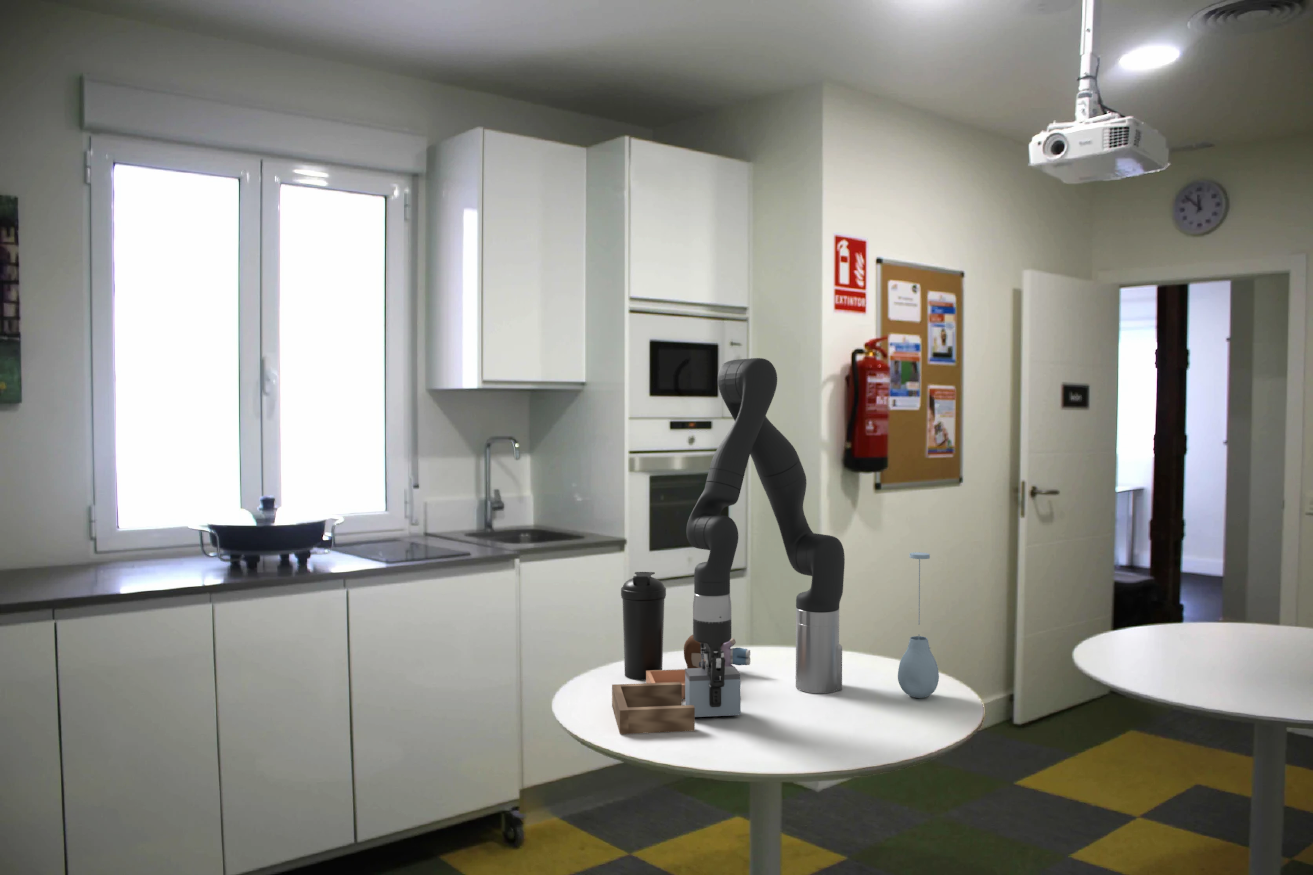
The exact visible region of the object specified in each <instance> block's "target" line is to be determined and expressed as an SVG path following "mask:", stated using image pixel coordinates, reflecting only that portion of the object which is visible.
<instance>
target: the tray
mask: <svg viewBox="0 0 1313 875" xmlns="http://www.w3.org/2000/svg"><path fill="white" fill-rule="evenodd" d="M685 669H686V668H683V669H682V668H681V669H679V668H678V669H662V670H647V671H646V680H645V683H671V682H681V684H682V700H685Z"/></svg>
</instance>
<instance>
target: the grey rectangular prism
mask: <svg viewBox="0 0 1313 875" xmlns="http://www.w3.org/2000/svg"><path fill="white" fill-rule="evenodd" d="M684 669H685V699H684V700H685V701H684V705H694V707H695V718H702V717H703V718H704V717H721V716H723V717H727V716H741V673H740V671H739V670H738V669H737V668H736V667H735V666H734V667H725V674H724V683H725V685H724V687H722V688H721V706H720V707H711V706H710V704H709V685H708V684H709V676H708V675H706V672H705V669H702V668H687V667H686V668H684ZM710 671H711V670H710ZM714 681H719V676H715V677H714Z"/></svg>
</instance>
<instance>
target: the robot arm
mask: <svg viewBox="0 0 1313 875" xmlns="http://www.w3.org/2000/svg"><path fill="white" fill-rule="evenodd" d="M717 386H718V391H719V393H720V396H721V397H722V400H723V402H724V403H725V406H726V408H727V409H728V411H729V413H730V415H731V417H732V419H733V421H734V423H733V425H732V426H731V428H730V430H729V431H728V433H727V434H726V436H725V437H724V438H723V440H722V441H721V443H720V444H719V446H717V448H716V449H715V452H714V454H713V457H712V459H711V461H710V465H709V469H708V473H707V477H706V481H705V484H704V489H703V491H702V493H701V495H699V497H698V499H697V502H696V504H695V506H694V507H693V509H692V511H691V513H690V515H689V517H688V520H687V523H686V530H685V532H686V538H687V541H688V543H689V544H690V545H691V547H693V548H694V549H695V548H696V549H699V550H706V551H709V555H708V558H707V561H703V562H699V563H698V564H697V565H696V566H695V568H694V572H693V574H694V575H693V576H694V578H693V579H694V580H693V582H694V583H693V585H694V586H693V587H694V590H693V592H694V593H693V600H692V601H693V602H692V635H693V639H694V640H695V641H697V642H699V643H701V644H700V647H701V668H702V669H705V672H706V675H708V676H709V684H708V685H709V704H710V706H711V707H720V706H721V688H722V687H724V685H725V683H724V674H725V658H724V651H721V644H722V643H726V642H729V641H730V640H731V639H732V600H731V570H732V567H733V563H734V559H735V555H736V551H737V547H738V544H739V530H738V526H737V524H736V522H735V521H734V520H733V519H732V518H731V517H730V516H726V515H721V513H722V511H723V510H724V509H725V508H726V507H731V506H733V505H736V504H737V502H738V501H739V497H740V495H741V490H742V485H743V482H744V479H745V475H746V469H747V466H748V462H749V460H750V457H751V460H752V461H753V464H754V467H755V470H756V472H757V476H758V478H759V480H760V483H761V485H762V488H763V489H764V491H765V492H764V493H765V494H766V496H767V499H768V501H769V504H770V507H771V510H772V513H773V516H774V517H775V519H776V522H777V525H778V528H779V532H780V534H781V539H782V543H783V546H784V548H785V553H786V556H787V559H788V561H789V564H790V566H791V567H792V568H793V570H794V571H795V572H796V573H798V574H801V575H804V576H810V577H811V583H810V584H811V585H810V588H809V589H808V590H807V591H802V592H800V593H798V594H797V595H796V599H795V687H796V688H797V690H800V691H802V692H806V693H812V694H828V693H833V692H836V691H837V692H839V691H843V646H842V645H841V644H840V602H841V600H842V597H843V592H844V579H845V578H844V577H845V551H844V550H845V549H844V546H843V544H842V542H841V541H840V539H839V538H837V537H836V536H833V535H829V534H821V533H815V532H813V530H812V529H811V528H810V526H809V524H808V520H807V517H806V515H805V512H804V502H805V497H806V491H807V490H806V489H807V476H806V473H805V470H804V466H803V464H802V462H801V459H800V457H799V455H798V453H797V450H796V449H795V446H793V444H792V443H791V442H790V440H788V438H787V437H785V435H784V434H783V433H781V431H780V430H778V428H777V427H776V426H775V425H774V424H773V423H772V422H771V420H769V418H768V417H767V414H768V412H769V409H770V406H771V404H772V401H773V399H774V396H775V393H776V390H777V386H778V374H777V370H776V367H775V365H774V364H773V363H772V362H771V361H770V360H768V359H767V358H762V357H754V358H753V357H751V358H743V359H742V358H741V359H731V360H728V361H725V362H724V363H723V364H722V365H721V366H720V367H719V370H718V374H717ZM710 670H711V671H710ZM715 676H719V681H714V677H715Z"/></svg>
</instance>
